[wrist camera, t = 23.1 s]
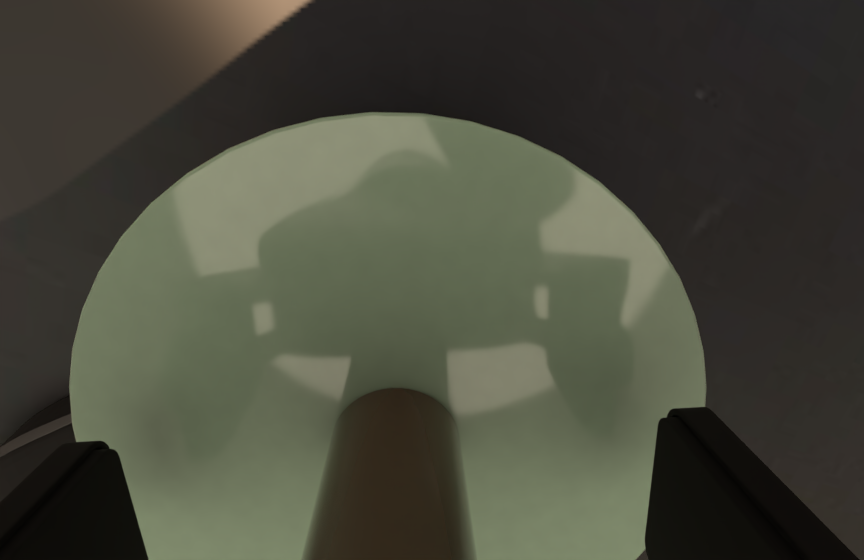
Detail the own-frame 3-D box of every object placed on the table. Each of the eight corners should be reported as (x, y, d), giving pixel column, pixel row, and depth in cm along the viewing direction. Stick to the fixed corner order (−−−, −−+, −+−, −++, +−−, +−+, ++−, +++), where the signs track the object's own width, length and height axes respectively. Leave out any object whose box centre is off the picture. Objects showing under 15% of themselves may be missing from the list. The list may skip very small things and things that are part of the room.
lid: (27, 127, 9) (-501, 149, 4) (714, 96, 10) (1101, 78, 4) (170, 632, 13) (7, 985, 8) (650, 601, 14) (804, 921, 8)
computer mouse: (257, 442, 25) (230, 500, 22) (71, 547, 27) (16, 618, 23) (163, 333, 23) (115, 376, 20) (-31, 454, 25) (-110, 516, 21)
